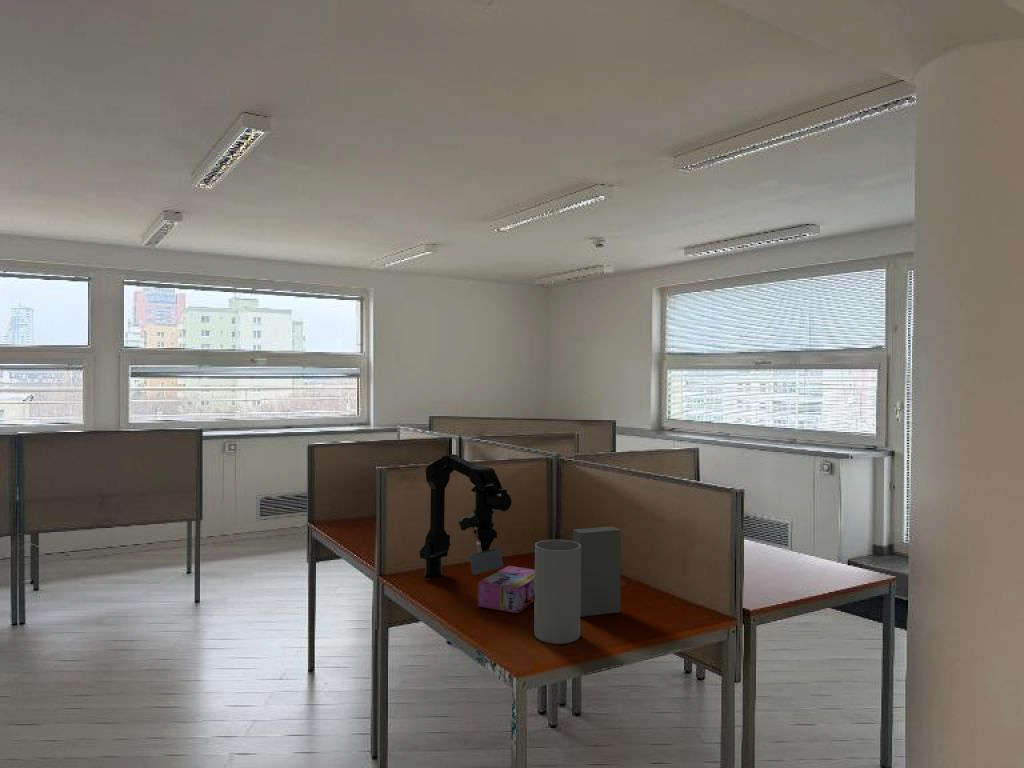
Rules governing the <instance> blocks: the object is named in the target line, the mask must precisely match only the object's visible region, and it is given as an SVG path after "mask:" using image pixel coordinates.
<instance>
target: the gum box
mask: <svg viewBox="0 0 1024 768" xmlns="http://www.w3.org/2000/svg"><path fill="white" fill-rule="evenodd" d="M477 585H478V586H477V587H478V588H477V589H478V591H477V607H480V608H485V609H490V610H495V611H502V612H506V613H507V612H508V613H514V614H519V613H521V612H522V611H523V610H525V609H526V608H527V607H528V606H531V604H532V603H534V601H535V600H534V601H533V602H532V603H529V604H527V605H526V606H524V604H525V603H528V602H530V601H531V599H532V598H533V597H535V568H534V569H532V568H527V567H520V566H515V565H514V566H513V565H507V566H506V567H503V568H501V569H500V570H498V571H496V572H495V573H493V574H491V575H489V576H487V577H484V578H483V579H481V580H479V581H478V583H477Z"/></svg>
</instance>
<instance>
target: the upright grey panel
mask: <svg viewBox="0 0 1024 768" xmlns="http://www.w3.org/2000/svg"><path fill="white" fill-rule="evenodd" d="M621 535H622V530H621V529H620V528H618V527H615V526H602V527H601V526H600V527H590V528H589V527H588V528H575V529H574V528H573V529H572V541H573V542H577V543H579V544H580V545H581V599H580V617H581V618H583V617H590V616H598V615H606V614H615V613H616V614H619V613H621V611H622V610H621V562H622V561H621V559H622V558H621V553H622V552H621V548H622V547H621V546H622V544H621V543H622V541H621V540H622V539H621V538H622V537H621Z"/></svg>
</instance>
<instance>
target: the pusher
mask: <svg viewBox="0 0 1024 768" xmlns="http://www.w3.org/2000/svg"><path fill="white" fill-rule="evenodd" d="M475 543H476V547H477V552H476V553H471V554H468V557H469V558H468V559H469V562H470V563H469V564H470V567H471V572H472V575H473V576H474V575H475V576H476V575H480V574H482V573H487V572H490V571H494V570H498V569H504V568H505V565H504V561H503V556H502V551H501V548H500V547H494V548H491V549H489V550H487V551H483V552H482V549H481V543H480V540H479V539H478V540H476V541H475Z"/></svg>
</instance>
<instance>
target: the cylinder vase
mask: <svg viewBox="0 0 1024 768" xmlns="http://www.w3.org/2000/svg"><path fill="white" fill-rule="evenodd" d="M534 570H535V601H534V602H533V603H534V609H533V610H534V611H533V612H534V613H533V615H534V617H533V621H534V625H533V628H534V629H533V630H534V631H533V634H534V636H535V638H536V639H537V640H539V641H540V642H542V643H543V642H544V643H546V644H554V645H564V644H571V643H574V642H575V641H577V640H578V639H579V638H580V636H581V618H580V599H581V545H580V544H579V543H577V542H573V540H566V539H546V540H540V541H537V542H535V544H534Z"/></svg>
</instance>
